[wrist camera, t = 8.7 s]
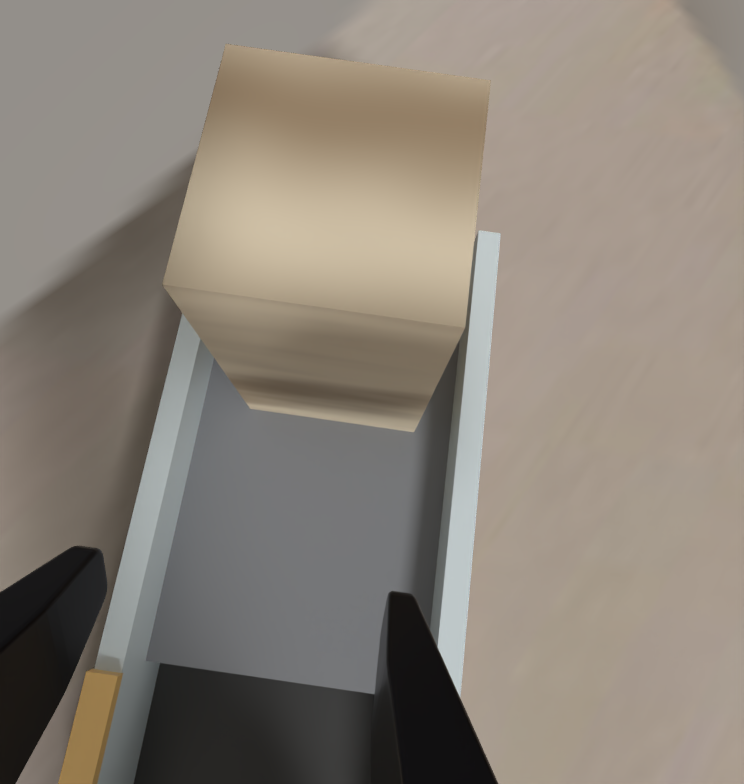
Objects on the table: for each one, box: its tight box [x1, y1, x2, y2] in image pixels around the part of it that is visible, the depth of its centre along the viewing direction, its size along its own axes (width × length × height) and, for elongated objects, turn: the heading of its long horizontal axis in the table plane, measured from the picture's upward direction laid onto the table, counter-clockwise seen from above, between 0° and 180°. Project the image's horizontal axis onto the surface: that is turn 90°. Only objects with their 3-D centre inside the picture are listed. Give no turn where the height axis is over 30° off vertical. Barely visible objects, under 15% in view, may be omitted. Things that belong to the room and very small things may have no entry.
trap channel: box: [58, 230, 501, 784], centre depth 19 cm, size 24×11×4 cm, turn 172°
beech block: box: [162, 44, 491, 432], centre depth 17 cm, size 6×6×10 cm
